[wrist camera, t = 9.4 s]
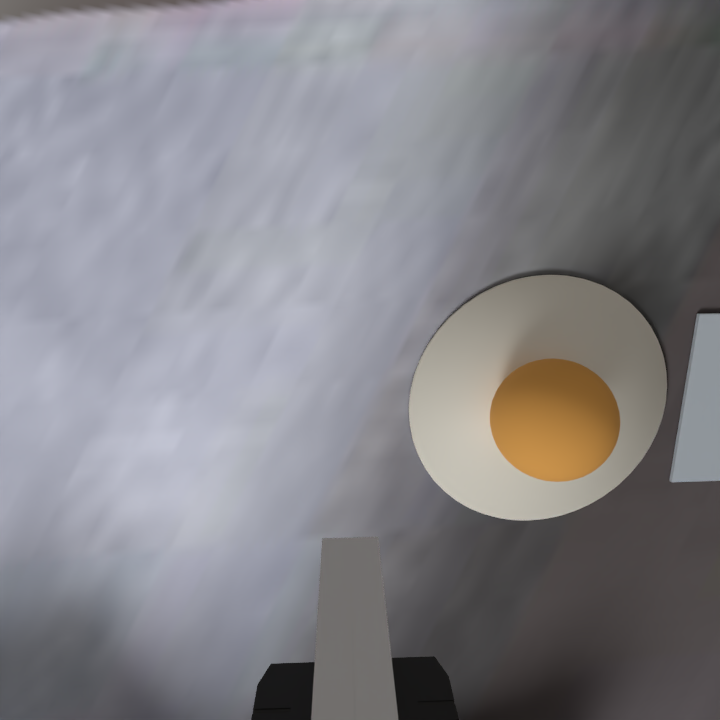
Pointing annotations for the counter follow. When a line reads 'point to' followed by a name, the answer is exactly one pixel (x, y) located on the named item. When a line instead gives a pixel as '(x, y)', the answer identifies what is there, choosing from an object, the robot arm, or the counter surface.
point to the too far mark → (700, 407)
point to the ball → (555, 420)
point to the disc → (512, 350)
